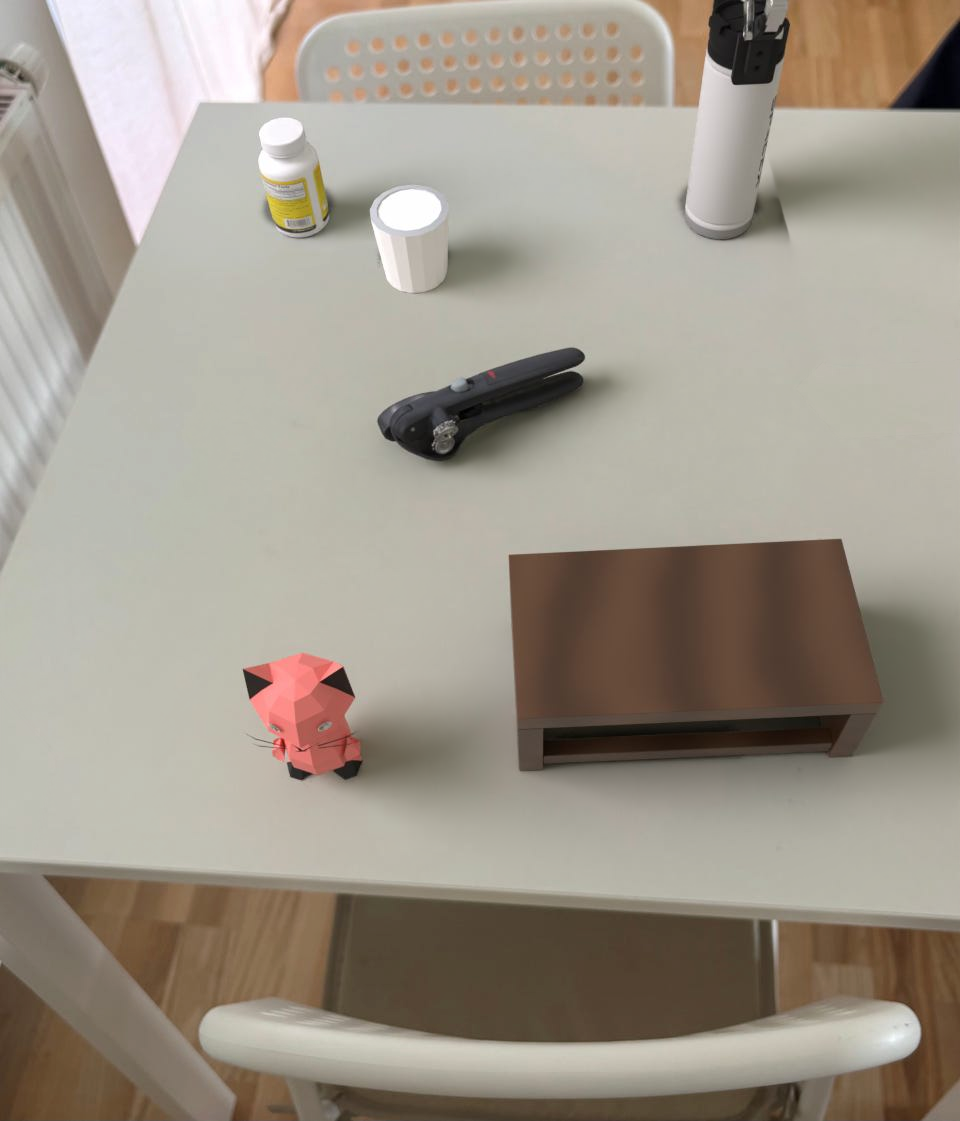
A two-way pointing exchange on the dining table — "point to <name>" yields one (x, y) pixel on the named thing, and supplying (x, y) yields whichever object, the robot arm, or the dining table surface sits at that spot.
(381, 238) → the shot glass
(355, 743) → the cat figurine
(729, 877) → the dining table surface
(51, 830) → the dining table surface
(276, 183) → the supplement bottle
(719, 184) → the travel mug
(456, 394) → the can opener
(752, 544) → the shelf
